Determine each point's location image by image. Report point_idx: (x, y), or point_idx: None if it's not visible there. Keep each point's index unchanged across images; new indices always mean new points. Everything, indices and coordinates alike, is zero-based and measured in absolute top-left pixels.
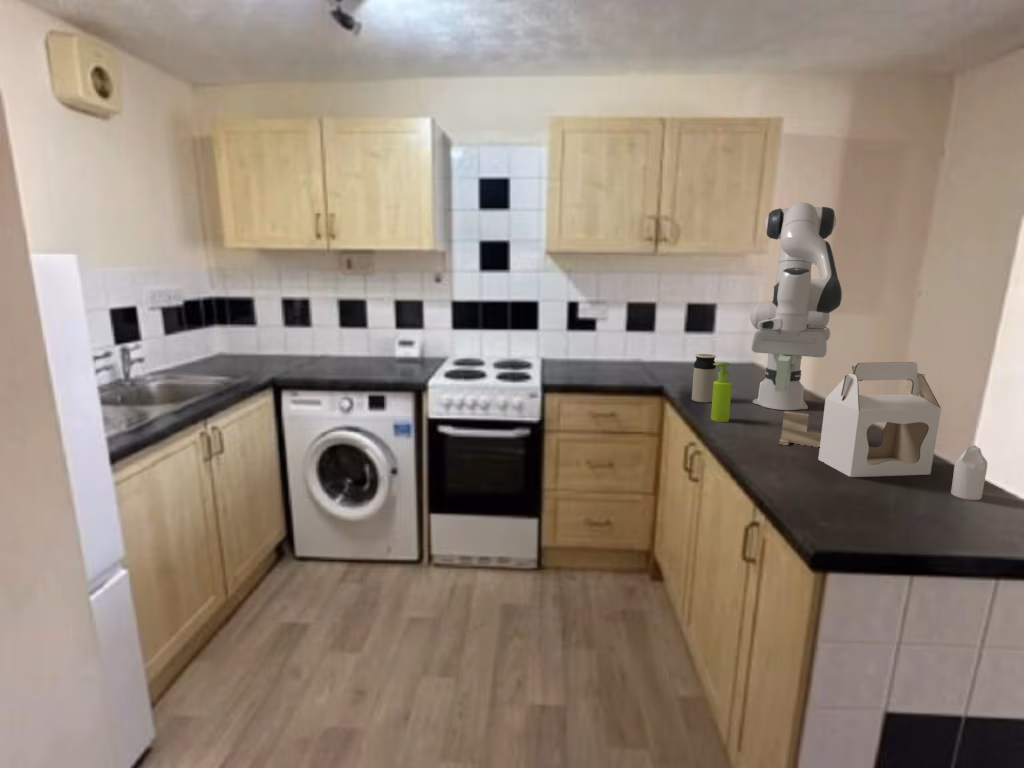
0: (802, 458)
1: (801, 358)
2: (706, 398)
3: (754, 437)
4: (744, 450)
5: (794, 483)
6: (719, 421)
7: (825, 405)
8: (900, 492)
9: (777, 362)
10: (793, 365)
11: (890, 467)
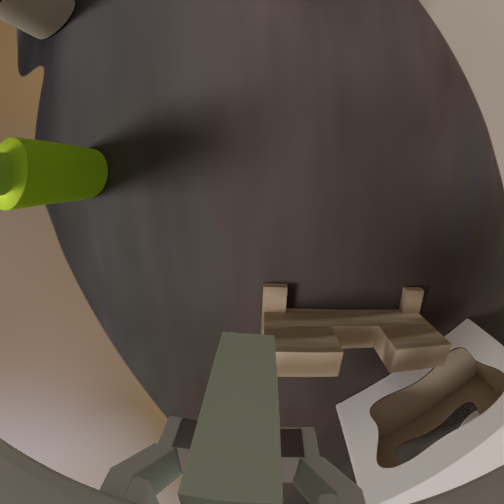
0: (307, 410)
1: (358, 498)
2: (53, 26)
3: (195, 313)
4: (196, 409)
5: (285, 486)
6: (89, 198)
7: None
8: (408, 454)
9: (169, 477)
10: (289, 478)
11: (428, 423)
